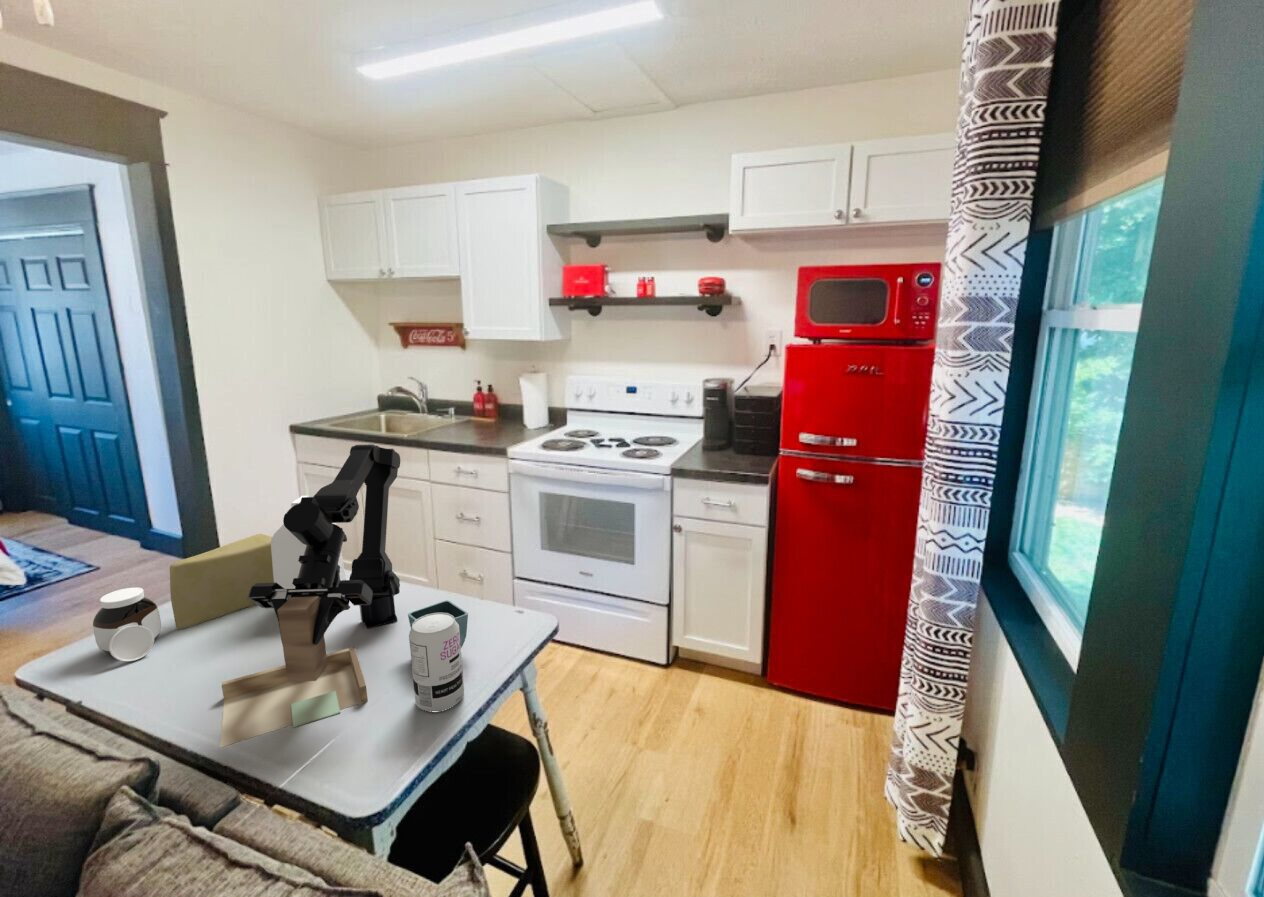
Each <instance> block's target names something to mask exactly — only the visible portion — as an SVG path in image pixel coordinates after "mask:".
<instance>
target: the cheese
mask: <svg viewBox="0 0 1264 897" xmlns="http://www.w3.org/2000/svg"><path fill="white" fill-rule="evenodd" d="M272 537H273V536H270V535H266V534H263V533H257V534H254V535H251V536H249V537H245V538H243V539H239V540H236V541H233V542H230V543H228V544H225V545H222V546H220V547H217V548H214V549H211V550H208V551H206V552H202V553H200V554H197V555H193V556H190V557H186V558H184V559H181V560H178V561H175V562H173V563H172V564H170V566H169V588H170V590H169V591H170V601H171V608H172V613H173V618H174V623H175V626H176V629H178V630H183V629H188V628H190V627H194V626H196V625H199V624H202V623H205V622H207V621H211V620H214V619H216V618H219V617H222V616H225V615H228V614H231V613H234V612H236V611H240V610H242V609H246V608H249V607H252V606H255V605H256V604H255V603H253V602H252V601H250V600H249V599H247V597H248V593H249V590H250V588H251V587H252V586H253V585H255V584H256V583H274V577H273V565H272V552H271V539H272Z"/></svg>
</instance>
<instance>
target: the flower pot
mask: <svg viewBox="0 0 1264 897" xmlns="http://www.w3.org/2000/svg"><path fill="white" fill-rule="evenodd" d="M432 613H448V614H451V615H453V617H454V618H455V621H456V622H457V623H458V625H459V632H460V645H461V649H462V648H463V646H464V644H465V641H466V638H467V632H468V631H467V630H468V621H469V620H468V619H469V612H467V611H466V610H464V609H463V608H461V607H459V606H458V605H456V604H455V603H453V602H452V601H451V600H448V599H446V600H442V601H440V602H437V603H433V604H432V605H428V606H425V607H422V608H419V609H417V610H413V611H411V612H409V613H407V616H408V622H409V627H410V629H411V628H412V624H413V623H414V621H415V620H417V619H418V618H420V617H422V616H425V615H427V614H432Z"/></svg>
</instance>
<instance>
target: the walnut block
mask: <svg viewBox="0 0 1264 897" xmlns="http://www.w3.org/2000/svg"><path fill="white" fill-rule="evenodd" d="M319 604H320V602H319V596H314V597H291V598H290V599H289V600H288V601H287V602H286V603H285V604H283V605H282V606H281V607H280V608H279V609H278V610H277V612H278V618H279V624H278V626H279V625H280V630H279V633H280V632H281V635H280V639H281V638H282V641H281V644H282V650H283V658H284V665H286V672H287V678H288V682H301V681H316V680H317V679H318V678H319V676H320V675H321V674H322V672H323V671H324V670H325V668H326V667H327V666H328V662H327V655H326V654H327V649H326V648H327V647H326V642H325V641H326V640H325V634H324V635H323V637H322V638H321V640H320V641H319V643H318V644H317V645H314V644H313V633H314V628H315V623H316V619H317V614H318V609H319Z"/></svg>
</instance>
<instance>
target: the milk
mask: <svg viewBox="0 0 1264 897" xmlns="http://www.w3.org/2000/svg"><path fill="white" fill-rule="evenodd" d="M302 497H310V496H309V494H308V495H301V496H300V497H298V498H297V499H295V500H294V501H292V502H291V504H290V506H291V507H290V508H292V507H293V506H294V505H296V504H299V503H300V502H301V499H302ZM332 524H335V525H337V526H338V523H332ZM271 537H272V539H271V552H272V565H273V577H274V583H278V584H279V585H280V586H282V587H283V588H284V589H295V586H294V585H293V584H292V583H293V579H294V578H298V575H299V571H300V568H301V563H300V562H299V561H298V560H299V557H300V556H304V553H305V549H306V545H305V544H303V543H302V542H300V541H299V540H298V539H297V538H296V537H295V536H294V535H293V534H292V533H291V532H290V531H289V530H288V529H286V528H285V526H284V523H283V524H282V525H281V526H280V527H279V528H278V529H277V530H276V531H275V533H273V535H272V536H271ZM338 565H339V566H340V574H339V575H340V580H341V581H342V580H347V577H346V576H347V575H346V570H345V564H344V558H343V553H342V551H341V552H340V557H339V561H338Z"/></svg>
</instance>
